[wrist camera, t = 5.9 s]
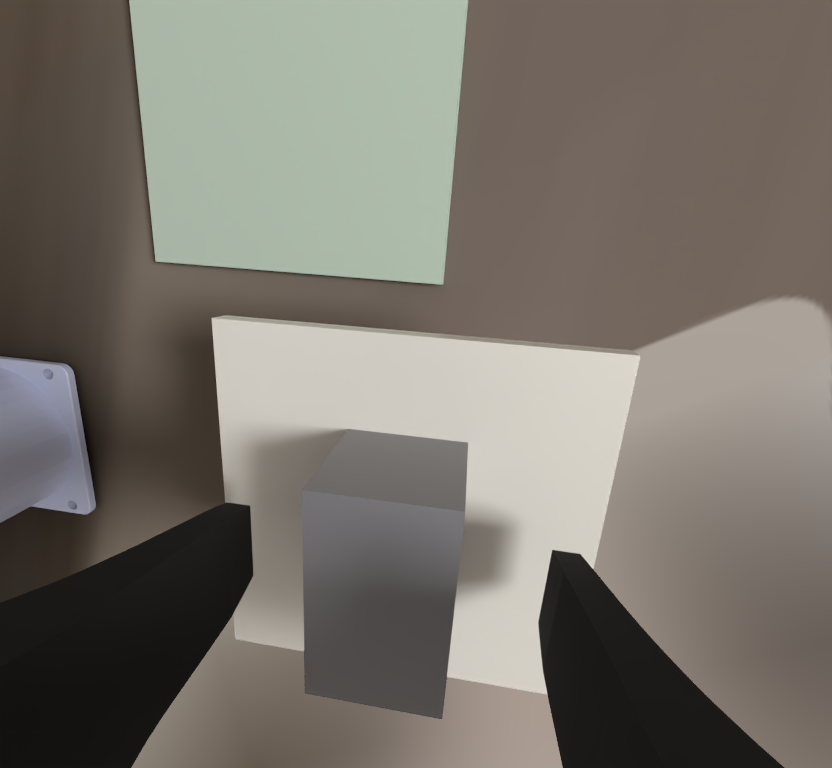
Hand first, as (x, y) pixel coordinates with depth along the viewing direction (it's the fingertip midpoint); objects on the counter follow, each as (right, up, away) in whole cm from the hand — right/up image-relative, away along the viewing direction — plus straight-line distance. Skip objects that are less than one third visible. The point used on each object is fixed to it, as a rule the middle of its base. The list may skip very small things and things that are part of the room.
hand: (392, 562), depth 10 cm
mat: (-4, +15, +6) cm, 16 cm away
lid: (0, +1, +2) cm, 2 cm away
